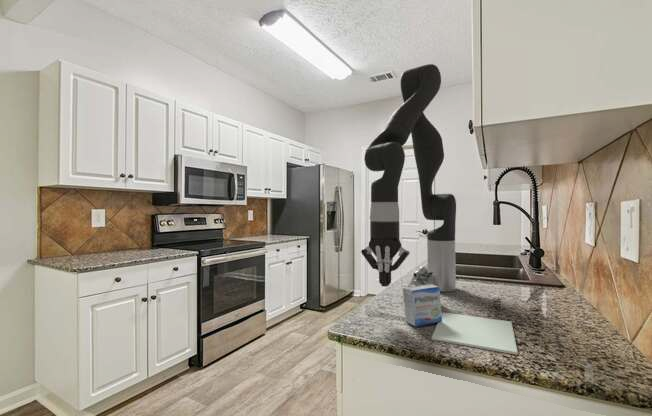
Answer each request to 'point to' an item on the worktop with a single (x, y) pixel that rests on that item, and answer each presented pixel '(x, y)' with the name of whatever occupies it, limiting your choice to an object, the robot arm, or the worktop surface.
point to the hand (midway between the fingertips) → (385, 285)
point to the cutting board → (476, 332)
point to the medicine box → (422, 305)
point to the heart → (423, 278)
